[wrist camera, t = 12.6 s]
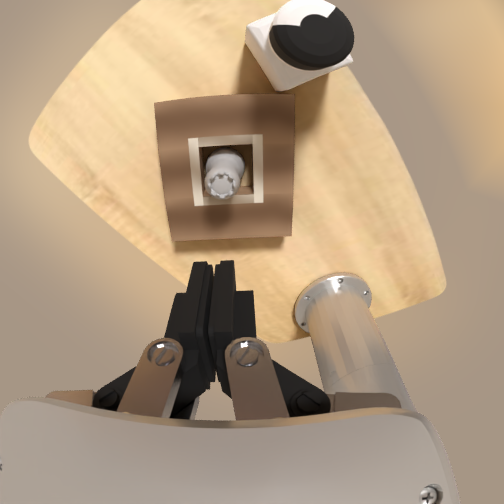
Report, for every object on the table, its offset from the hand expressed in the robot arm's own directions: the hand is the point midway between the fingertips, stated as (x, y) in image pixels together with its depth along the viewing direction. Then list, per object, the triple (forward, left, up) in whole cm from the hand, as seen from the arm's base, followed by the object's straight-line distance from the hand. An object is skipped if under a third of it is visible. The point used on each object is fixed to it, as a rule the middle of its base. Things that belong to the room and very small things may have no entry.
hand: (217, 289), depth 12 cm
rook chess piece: (0, +1, -22) cm, 22 cm away
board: (0, 0, -22) cm, 22 cm away
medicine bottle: (+13, -7, -22) cm, 27 cm away
